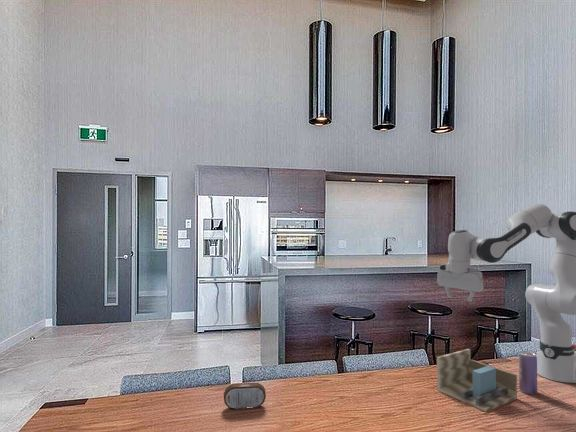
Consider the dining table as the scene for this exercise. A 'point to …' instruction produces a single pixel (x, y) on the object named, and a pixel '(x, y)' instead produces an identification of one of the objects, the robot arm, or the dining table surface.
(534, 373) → the beverage can
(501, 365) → the dining table surface
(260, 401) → the tin
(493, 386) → the light blue flat block
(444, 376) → the rack
